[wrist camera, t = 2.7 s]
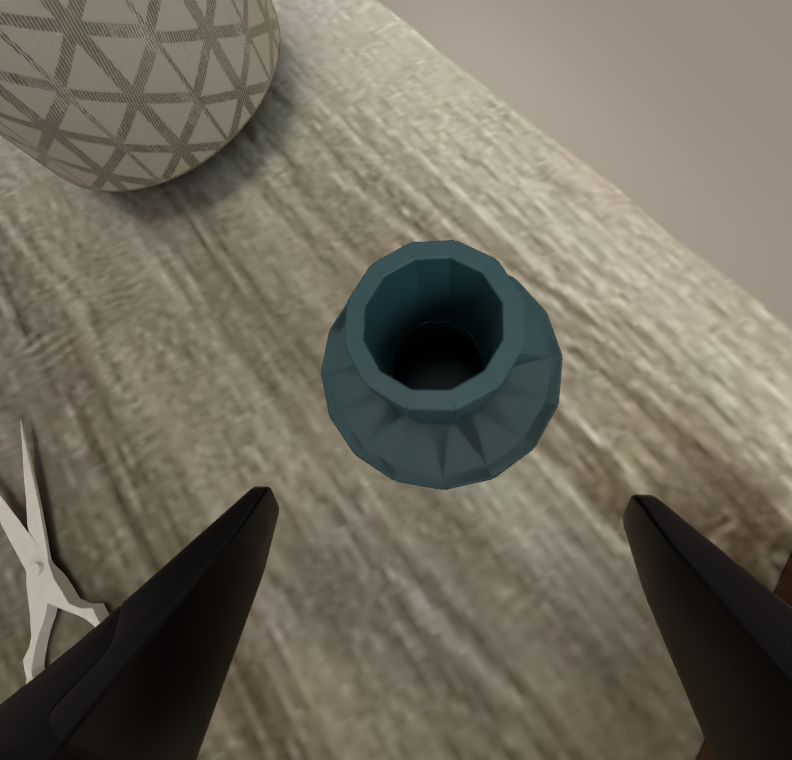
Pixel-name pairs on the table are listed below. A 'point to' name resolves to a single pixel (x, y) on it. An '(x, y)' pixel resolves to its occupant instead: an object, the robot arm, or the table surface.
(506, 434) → the teal faceted vase
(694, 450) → the table surface
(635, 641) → the table surface
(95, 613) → the scissors
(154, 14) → the planter
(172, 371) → the table surface
